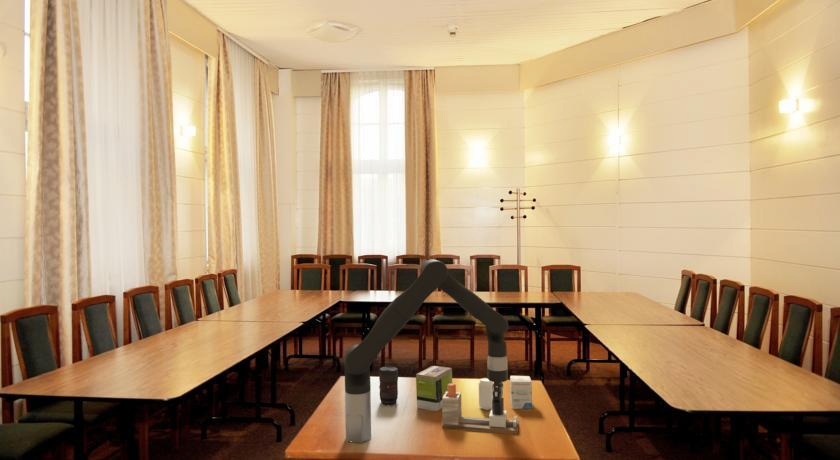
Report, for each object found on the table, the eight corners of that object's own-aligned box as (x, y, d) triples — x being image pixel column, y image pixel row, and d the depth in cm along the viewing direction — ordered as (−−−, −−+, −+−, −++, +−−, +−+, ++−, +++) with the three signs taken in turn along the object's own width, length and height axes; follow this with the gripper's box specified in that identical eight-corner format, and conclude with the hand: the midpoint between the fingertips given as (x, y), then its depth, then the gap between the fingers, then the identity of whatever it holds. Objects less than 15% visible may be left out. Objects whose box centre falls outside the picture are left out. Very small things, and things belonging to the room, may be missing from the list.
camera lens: (397, 406, 222) (397, 371, 222) (378, 406, 222) (378, 371, 222) (398, 399, 230) (398, 366, 230) (380, 400, 230) (380, 366, 230)
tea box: (433, 397, 232) (433, 364, 232) (453, 401, 227) (453, 367, 227) (415, 408, 219) (415, 373, 219) (436, 412, 214) (436, 376, 214)
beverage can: (493, 411, 215) (493, 382, 214) (478, 410, 216) (478, 381, 216) (494, 406, 221) (494, 377, 220) (479, 405, 222) (479, 377, 222)
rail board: (517, 434, 191) (516, 403, 191) (442, 428, 197) (441, 398, 197) (518, 424, 200) (518, 394, 200) (447, 418, 207) (446, 390, 207)
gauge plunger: (455, 412, 199) (455, 386, 199) (447, 411, 200) (446, 385, 200) (456, 409, 202) (456, 383, 202) (448, 408, 203) (448, 383, 203)
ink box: (530, 402, 225) (530, 375, 224) (532, 409, 216) (532, 381, 216) (510, 402, 225) (509, 375, 225) (511, 408, 217) (511, 380, 217)
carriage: (505, 427, 193) (505, 402, 193) (489, 426, 194) (488, 401, 194) (506, 420, 200) (506, 396, 200) (491, 419, 201) (490, 395, 201)
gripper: (506, 373, 189) (506, 420, 189) (508, 362, 203) (509, 407, 203) (485, 371, 191) (486, 418, 191) (489, 362, 205) (490, 405, 205)
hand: (498, 412), depth 197 cm, fingers closed on carriage, 3 cm apart
